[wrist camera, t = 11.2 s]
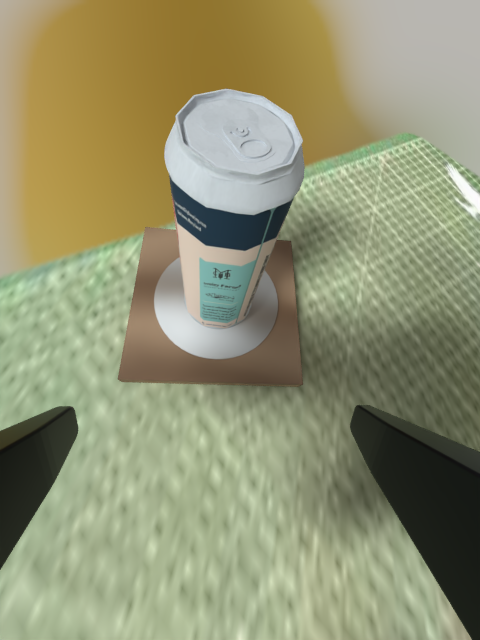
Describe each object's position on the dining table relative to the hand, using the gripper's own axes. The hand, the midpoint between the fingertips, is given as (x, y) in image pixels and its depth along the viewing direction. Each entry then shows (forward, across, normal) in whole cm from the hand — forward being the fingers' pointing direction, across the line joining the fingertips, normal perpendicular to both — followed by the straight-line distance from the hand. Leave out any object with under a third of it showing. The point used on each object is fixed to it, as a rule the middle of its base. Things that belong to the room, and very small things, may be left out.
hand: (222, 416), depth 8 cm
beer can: (+12, 0, 0) cm, 12 cm away
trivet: (+13, 0, -1) cm, 13 cm away
